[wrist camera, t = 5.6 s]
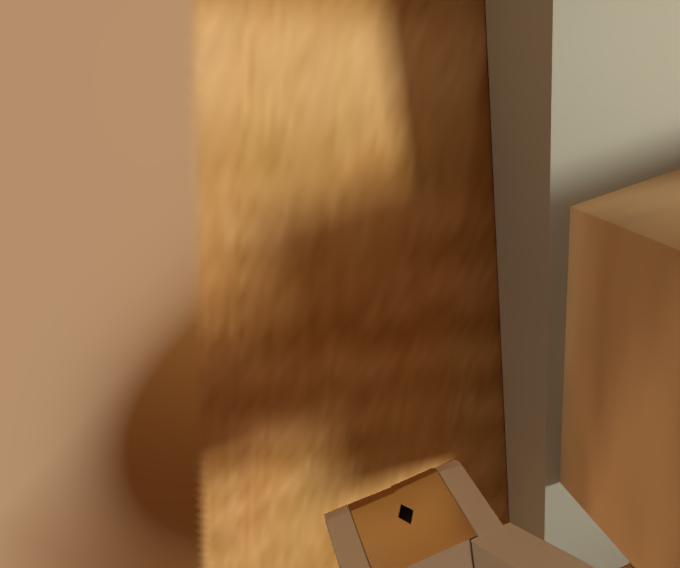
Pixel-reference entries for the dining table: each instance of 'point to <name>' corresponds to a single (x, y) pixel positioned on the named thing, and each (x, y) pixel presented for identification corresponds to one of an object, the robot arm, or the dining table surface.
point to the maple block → (625, 368)
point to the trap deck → (565, 206)
